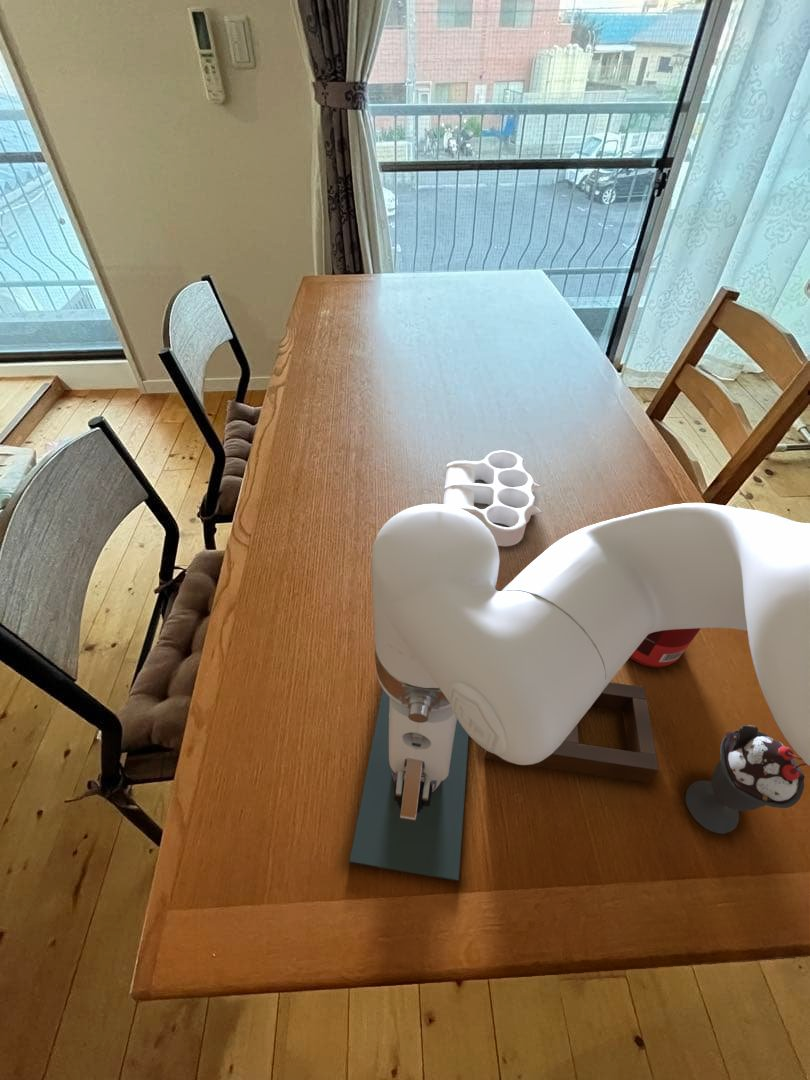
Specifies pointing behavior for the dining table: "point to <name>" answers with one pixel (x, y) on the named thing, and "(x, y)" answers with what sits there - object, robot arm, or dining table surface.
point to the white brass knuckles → (494, 493)
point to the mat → (437, 827)
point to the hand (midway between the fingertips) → (418, 752)
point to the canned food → (663, 647)
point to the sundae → (746, 780)
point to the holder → (607, 761)
